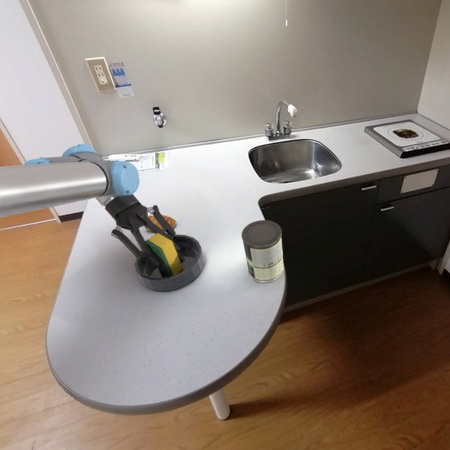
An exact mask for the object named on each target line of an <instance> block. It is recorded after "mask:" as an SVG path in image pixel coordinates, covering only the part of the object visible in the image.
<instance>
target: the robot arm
mask: <svg viewBox="0 0 450 450" xmlns="http://www.w3.org/2000/svg"><path fill="white" fill-rule="evenodd" d="M139 187H140V173H139V171H138V168H137V167H136V165H134V164H133V163H132V162H129V161H123V160H119V159H116V160H111V159H109V160H108V159H103V157H102V155H100V153H98V152H97V151H96V150H95V149H94V148H93V147H92V146H91V145H90V144H87V143H78V144H77V145H72V146H71V147H69V148H67V149H66V150H65V151H63V152H62V154H61V156H51V157H49V156H48V157H44V156H41V157H39V158H32V159H28V160H27V161H24V163H23V164H20V165H18V164H17V165H4V166H0V219H3V218H8V217H13V216H16V215H17V216H18V215H22V214H26V213H27V214H28V213H31V212H35V211H41V210H44V209H50V208H54V207H58V206H63V205H69V204H73V203H78V202H82V201H88V200H93V199H96V200H97V202H98V203H99V204H100V205H101V206H102V207H104V210H105V211H106V212H107V214H109V216H110V217H111V218H112V219H113V220H114V221H115V225H116V226H115V228H114V229H112V230H111V232H110V235H111V236H112V237H114V238H115V239H117V240H119V241H120V242H121V243H122V244H123V245H124V246H125V248H127V249H128V251H129V252H130V253H131V254H132V255H133V256H134V257H135V259H136V258H137V259H139V260H141V259H144V258H148V259H149V260H150V262H151V263H152V264H153V265H154V266H156V267H157V266H158V265H159V266H160V267H161V268H162V269H163V270H164V272H165V273H166V274H168V273H170V272H171V269H170V268H169V267H168V266H167V265H166V264H165V263H164V262H163V260H162V259H161V258H160V257H159V256H158V255H157V254H156V252H155V253H154V254H152V252H151V251H150V249H149V247H148V245H147V243H146V242H145V241H146V240H145V238H144V236H143V235H142V233H141V230H140V228H142V227H144V228H145V227H146V228H148V229H150V230H151V231H152V233H153V234H154V235H155V234H157V233H159V234H161V235H162V236H164V237H166V238H168V239H169V240H171V241H172V242H173V245H174V247H175V250H176V252H177V255H178V257H179V260H180V262H181V263H182V262H184V261H185V259H184V257H183V256H182V255H181V254H180V253H179V252H178V250H179V249H180V248H179V247H178V245H177V244H176V243H175V242H174V241H173V237H174V236H175V235H177V233H176V231H175V230H174V228H172V227H171V226H170V225H169V223H168V222H167V221H166V220H165V218H164V217H163V216H162V215H163V214H162V213H161V212H160V209H159V206H158V205H157V204H154V205H153V206H148V207H147V206H145V205H143V204H142V202H140V200H139V199H137V197H136V196H135V195H134V194H135V193H136V192H137V191H138V188H139ZM149 214H150V215H151V216H154V218H155V219H156V220H157V222H158V223H159V224H160V225H161V227H162V228H163V229H164V230H165V231H163V230H162V229H160V228H159V227H158V226H156V225H155V224H154V223H153V222H152V221H151V220H150V219H149V218H148V216H149ZM122 229H123V230H122ZM124 230H127V231H129V232H130V233H131V234H132V236H133V238H134V239H135V241H136V242H137V244H138V247H139V248H140V249H139V248H138V247H137V245H136V244H135V243H134V242H133V241H132V240H130V238H128V236H127V235H125V233H124ZM151 231H150V232H151ZM141 250H142V251H143V253H142V252H141Z"/></svg>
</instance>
